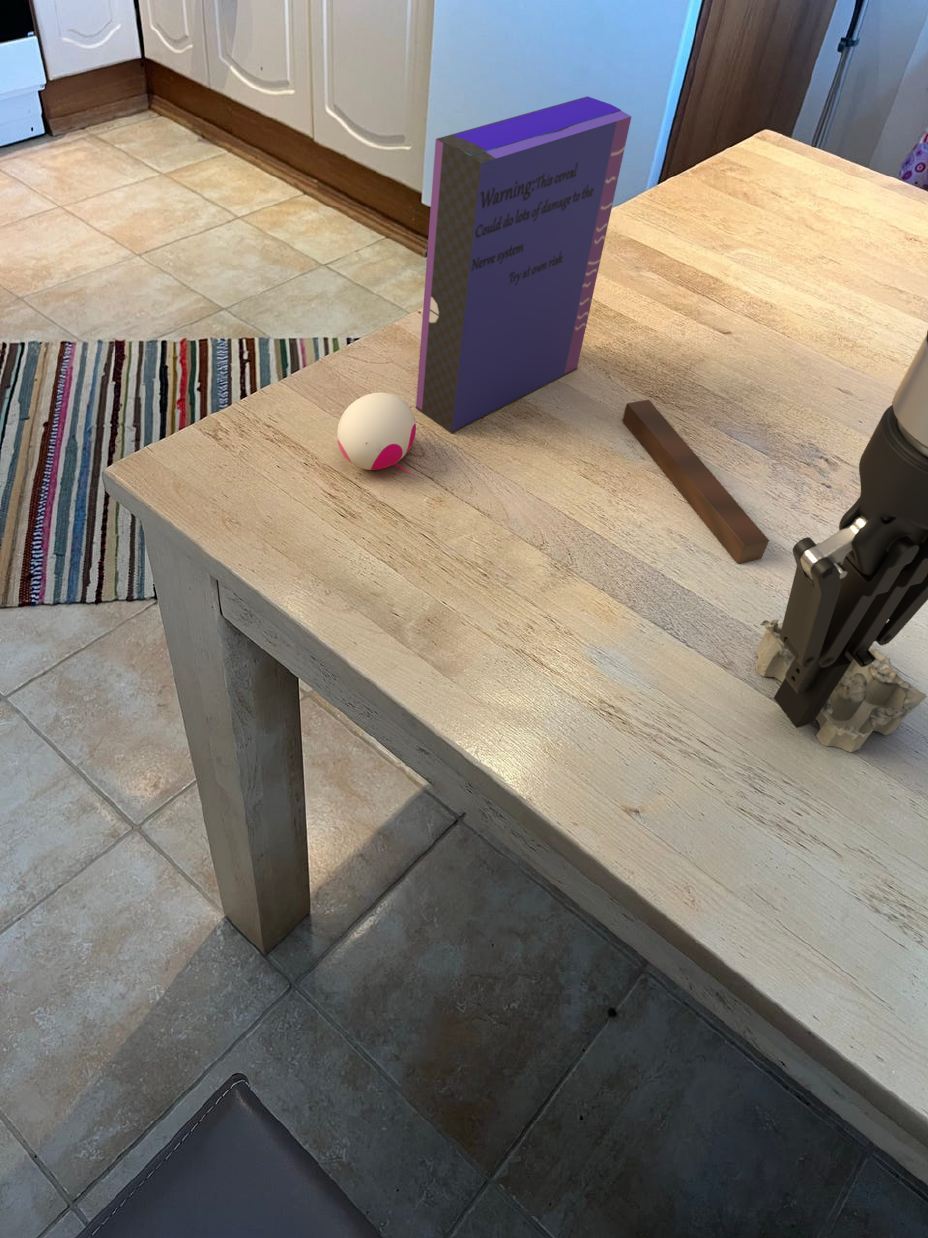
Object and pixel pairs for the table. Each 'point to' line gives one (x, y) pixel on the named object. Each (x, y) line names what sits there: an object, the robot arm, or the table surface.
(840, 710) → the egg carton
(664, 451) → the walnut stick
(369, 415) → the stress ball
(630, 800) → the table surface
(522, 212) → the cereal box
